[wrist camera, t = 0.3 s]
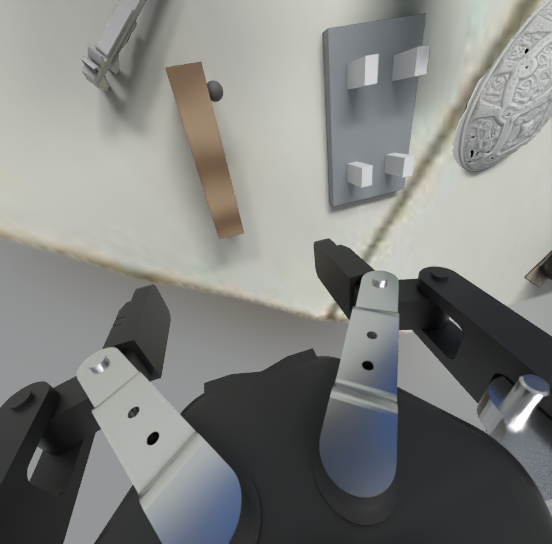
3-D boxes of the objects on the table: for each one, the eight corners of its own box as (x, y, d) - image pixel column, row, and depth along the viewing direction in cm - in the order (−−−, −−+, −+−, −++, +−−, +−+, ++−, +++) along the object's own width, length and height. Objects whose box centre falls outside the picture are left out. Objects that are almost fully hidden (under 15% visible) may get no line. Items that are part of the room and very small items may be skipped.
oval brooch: (433, 153, 39) (476, 158, 33) (557, -55, 30) (642, -94, 25) (477, 188, 46) (518, 197, 41) (586, 30, 38) (656, 15, 32)
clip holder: (322, 32, 28) (345, 15, 23) (416, 17, 29) (455, -2, 25) (329, 203, 39) (346, 214, 34) (397, 187, 40) (422, 195, 36)
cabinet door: (174, 81, 27) (165, 67, 20) (214, 74, 28) (217, 59, 21) (216, 217, 36) (219, 239, 29) (246, 210, 36) (255, 230, 30)
